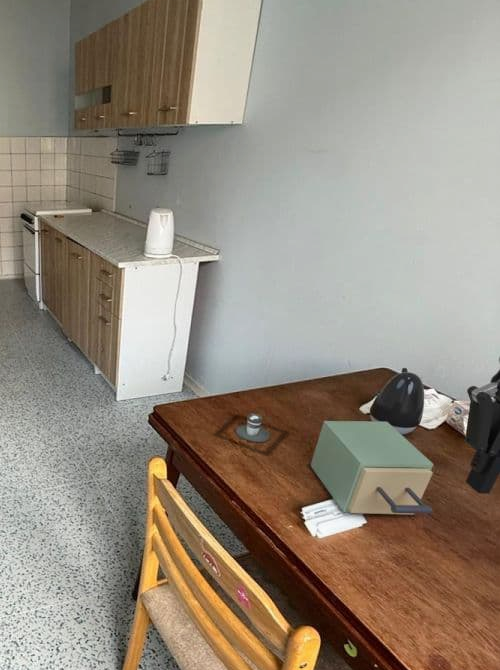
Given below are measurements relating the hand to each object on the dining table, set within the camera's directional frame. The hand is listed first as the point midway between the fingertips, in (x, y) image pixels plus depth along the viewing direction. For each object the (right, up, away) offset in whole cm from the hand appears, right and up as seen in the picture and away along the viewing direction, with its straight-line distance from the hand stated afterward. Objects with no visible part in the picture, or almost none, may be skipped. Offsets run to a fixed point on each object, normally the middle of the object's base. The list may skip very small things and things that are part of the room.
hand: (477, 487), depth 71 cm
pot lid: (-15, +4, +44) cm, 47 cm away
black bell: (+19, +5, +44) cm, 48 cm away
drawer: (-2, -7, +21) cm, 22 cm away
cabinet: (-2, -5, +25) cm, 26 cm away
